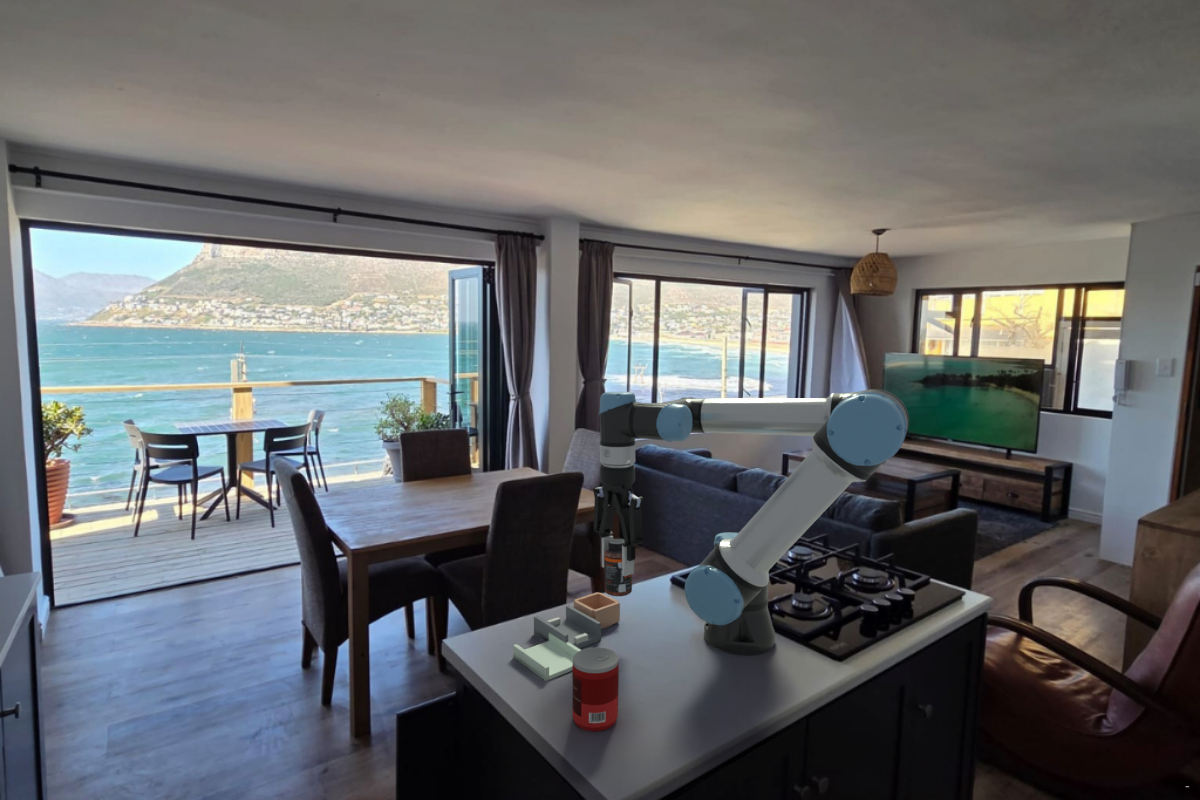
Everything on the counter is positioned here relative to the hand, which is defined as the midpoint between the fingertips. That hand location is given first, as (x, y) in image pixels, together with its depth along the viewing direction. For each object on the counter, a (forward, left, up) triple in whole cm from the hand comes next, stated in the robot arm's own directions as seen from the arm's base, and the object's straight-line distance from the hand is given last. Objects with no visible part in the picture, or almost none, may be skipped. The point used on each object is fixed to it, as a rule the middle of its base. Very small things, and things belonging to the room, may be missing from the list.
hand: (617, 569), depth 136 cm
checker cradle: (+7, +8, -15) cm, 19 cm away
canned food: (-20, +22, -16) cm, 34 cm away
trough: (+1, +17, -15) cm, 23 cm away
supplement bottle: (0, 0, -5) cm, 5 cm away
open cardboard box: (+9, -2, -15) cm, 18 cm away
